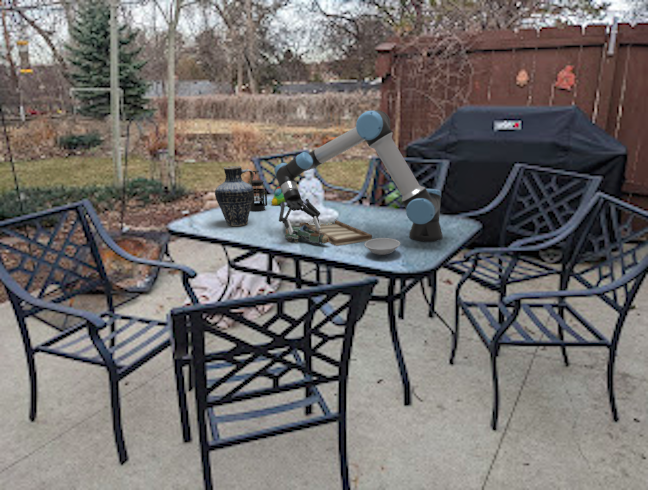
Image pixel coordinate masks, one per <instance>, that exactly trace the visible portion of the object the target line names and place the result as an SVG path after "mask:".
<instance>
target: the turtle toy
mask: <svg viewBox="0 0 648 490" xmlns="http://www.w3.org/2000/svg"><path fill="white" fill-rule="evenodd" d="M282 201H283V202H284V203H286V202H285V199H284V196H283V194H282V191H281V188H280V186H277V187H276V189H275V191H274V195H273V197H272V199H271V205H272V206H280V204H281V202H282Z"/></svg>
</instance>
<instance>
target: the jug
mask: <svg viewBox="0 0 648 490" xmlns="http://www.w3.org/2000/svg"><path fill="white" fill-rule="evenodd" d="M223 170H224V174H225V180H224V181H223V182H222V183H220V185H218V186H217V187H216V188H215V191H214V195H215V197H214V198H215V200H216V203H217V204H218V206H219V209H220V210H221V213H222V215H223V217H224V220H225V222H226V225H228V226H233V227H239V226H245V225H247V224H248V222H249V216H250V212H251V211H250V208H251V204H252V201H253V196H254V197H255V193H254V189H255V188H254V186H252V181H253V180H254V175H255V173H254V172H253V171H254V170H252V169H249V168H245V169H242V166H240V165H238V166H236V165H235V166H234V165H233V166H226V167H225V166H224V167H223ZM248 172H249V175H250V176H249V182H246V181H244V179H243V178H242V175H243V174H245V173H248Z"/></svg>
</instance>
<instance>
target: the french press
mask: <svg viewBox="0 0 648 490" xmlns="http://www.w3.org/2000/svg"><path fill="white" fill-rule="evenodd" d="M252 171H253V173H254V175H255V176H257V173H260V171H259V170H252ZM264 182H265V181H264V180H261V179H260V180H259V179H255V180H254V179H253V180H252V187H255V188H253V189H254V194H256V195H254V196H253V201H252V204H251V208H250V212H253V213H254V212H257V213H258V212H264V211H266V207H267V206H268V191H267V190H265V188H259V187H262V186H264ZM247 183H249V181H248V182H247ZM257 187H258V188H257ZM258 194H259V195H258Z"/></svg>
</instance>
